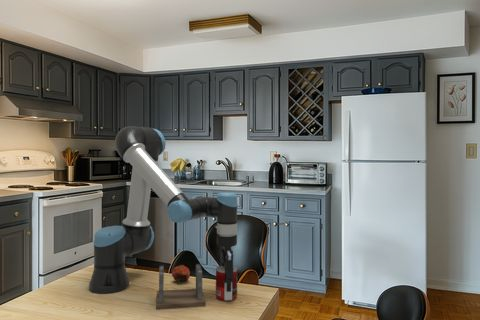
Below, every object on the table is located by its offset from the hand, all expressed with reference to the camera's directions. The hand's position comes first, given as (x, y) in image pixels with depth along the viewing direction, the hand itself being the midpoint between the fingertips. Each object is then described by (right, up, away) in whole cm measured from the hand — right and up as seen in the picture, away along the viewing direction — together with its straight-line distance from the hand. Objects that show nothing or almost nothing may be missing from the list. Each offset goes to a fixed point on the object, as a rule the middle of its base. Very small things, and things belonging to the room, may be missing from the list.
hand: (226, 295), depth 142 cm
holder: (-17, -1, -3) cm, 17 cm away
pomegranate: (-19, -1, +17) cm, 25 cm away
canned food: (0, -1, 0) cm, 1 cm away
